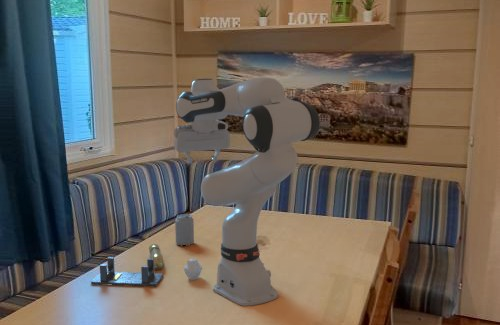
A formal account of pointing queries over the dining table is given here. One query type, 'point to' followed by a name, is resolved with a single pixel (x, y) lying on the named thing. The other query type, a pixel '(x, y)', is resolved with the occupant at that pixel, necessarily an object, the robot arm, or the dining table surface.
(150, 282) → the stand
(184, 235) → the can
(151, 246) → the tube
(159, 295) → the dining table surface
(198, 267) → the light grey rounded piece
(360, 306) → the dining table surface
